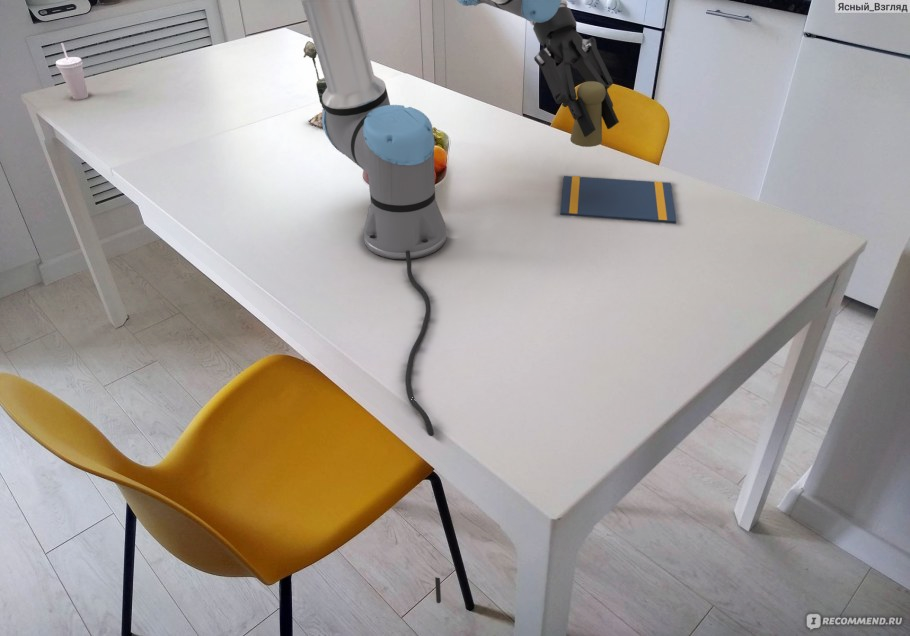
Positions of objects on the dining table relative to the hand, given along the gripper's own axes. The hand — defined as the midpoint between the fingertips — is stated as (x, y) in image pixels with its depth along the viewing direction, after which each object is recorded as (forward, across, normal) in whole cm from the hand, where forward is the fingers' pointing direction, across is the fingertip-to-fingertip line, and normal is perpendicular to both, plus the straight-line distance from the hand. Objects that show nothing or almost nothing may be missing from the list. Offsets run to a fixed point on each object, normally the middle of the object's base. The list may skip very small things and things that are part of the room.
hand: (601, 129), depth 132 cm
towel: (+12, -6, -10) cm, 17 cm away
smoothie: (-76, +71, -99) cm, 144 cm away
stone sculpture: (-36, +24, -59) cm, 74 cm away
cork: (0, 0, -5) cm, 5 cm away
